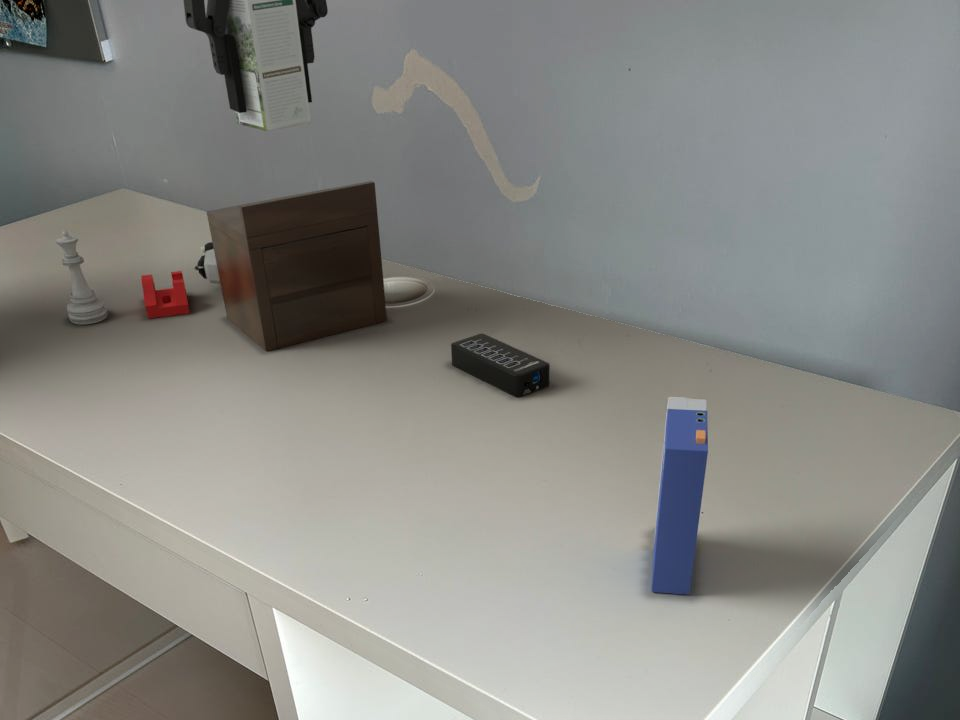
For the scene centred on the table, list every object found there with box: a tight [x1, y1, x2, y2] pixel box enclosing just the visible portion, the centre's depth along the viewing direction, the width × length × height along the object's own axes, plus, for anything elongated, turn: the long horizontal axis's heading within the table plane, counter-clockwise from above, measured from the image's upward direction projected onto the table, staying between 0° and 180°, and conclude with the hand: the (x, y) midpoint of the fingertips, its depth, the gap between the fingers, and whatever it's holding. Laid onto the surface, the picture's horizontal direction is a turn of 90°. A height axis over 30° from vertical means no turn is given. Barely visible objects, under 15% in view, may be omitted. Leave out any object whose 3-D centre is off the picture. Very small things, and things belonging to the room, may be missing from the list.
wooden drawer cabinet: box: [206, 180, 388, 352], centre depth 110 cm, size 12×15×15 cm
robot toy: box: [192, 241, 221, 287], centre depth 125 cm, size 12×4×15 cm
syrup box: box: [225, 0, 311, 132], centre depth 97 cm, size 6×6×14 cm
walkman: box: [651, 396, 709, 595], centre depth 70 cm, size 8×3×12 cm, turn 170°
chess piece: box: [55, 230, 109, 326], centre depth 114 cm, size 4×4×10 cm
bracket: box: [140, 270, 191, 319], centre depth 118 cm, size 6×5×3 cm
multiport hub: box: [450, 333, 551, 398], centre depth 100 cm, size 4×11×2 cm, turn 39°
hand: (271, 104), depth 101 cm, fingers closed on syrup box, 6 cm apart
